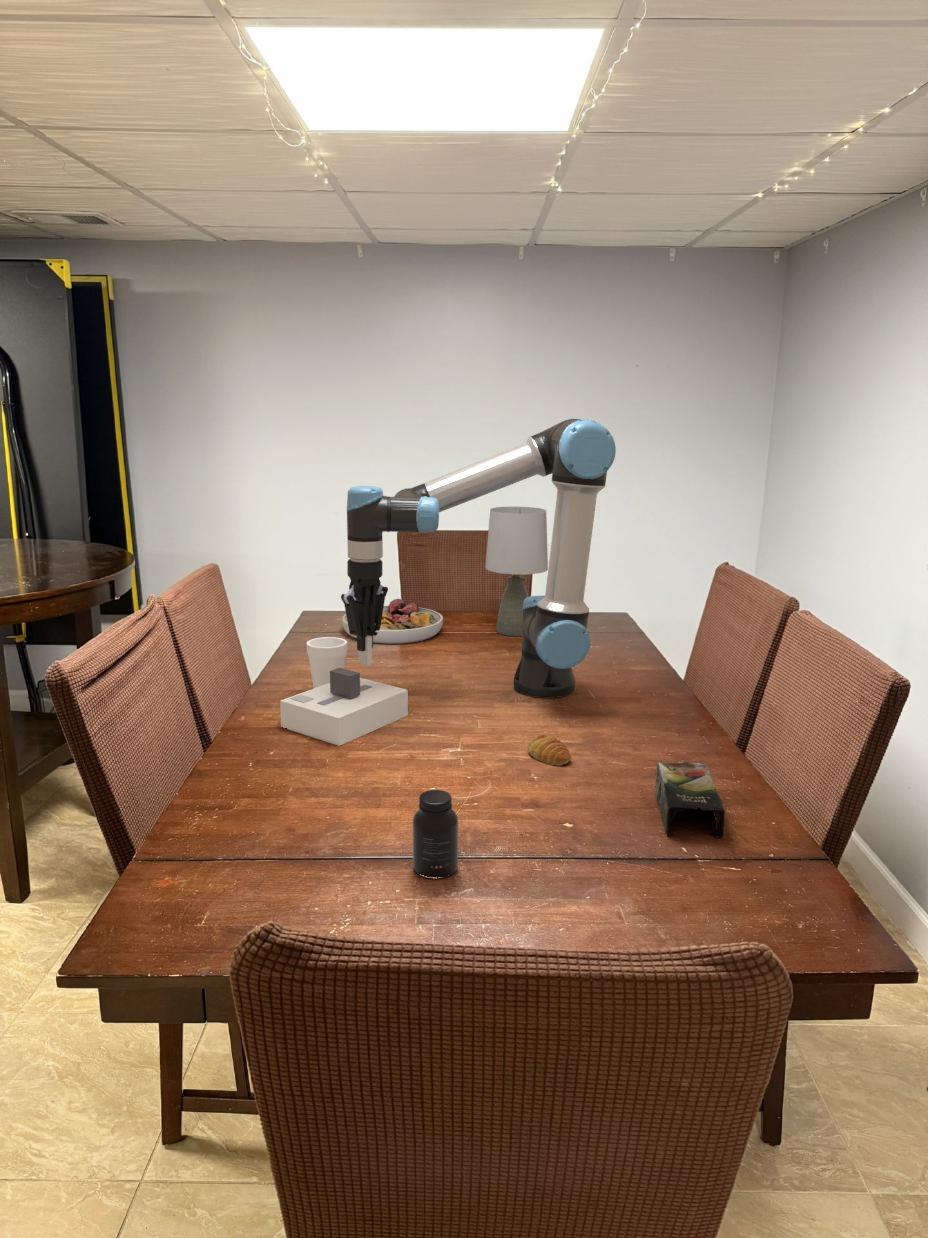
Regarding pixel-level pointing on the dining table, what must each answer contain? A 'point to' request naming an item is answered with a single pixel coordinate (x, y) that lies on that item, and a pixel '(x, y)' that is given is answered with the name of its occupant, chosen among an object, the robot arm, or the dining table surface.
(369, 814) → the dining table surface
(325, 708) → the switch panel
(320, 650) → the foam cup
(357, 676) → the knob
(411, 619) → the bowl
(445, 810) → the supplement bottle
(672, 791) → the juice carton
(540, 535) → the lamp
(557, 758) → the pastry
